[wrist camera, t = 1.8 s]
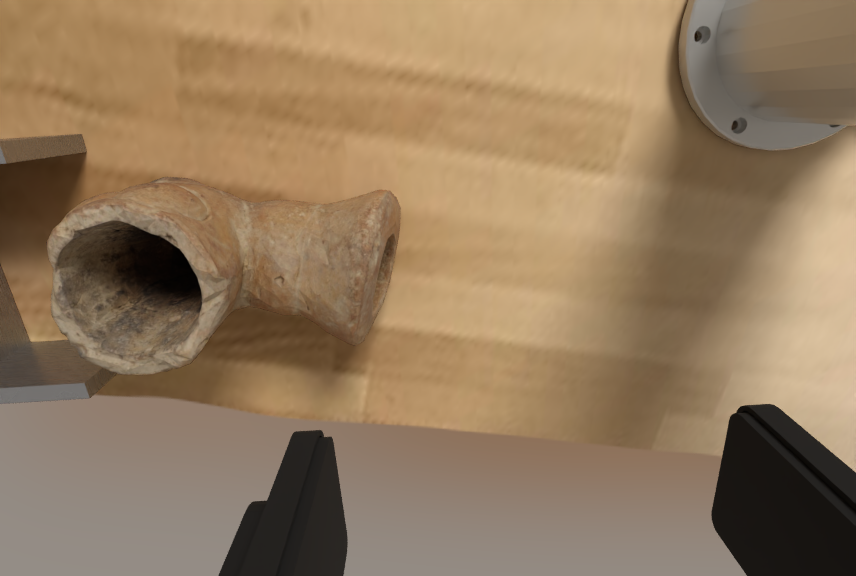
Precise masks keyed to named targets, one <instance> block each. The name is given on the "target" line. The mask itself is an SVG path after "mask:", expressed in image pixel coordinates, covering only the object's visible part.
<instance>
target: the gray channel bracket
mask: <svg viewBox="0 0 856 576" xmlns="http://www.w3.org/2000/svg"><path fill="white" fill-rule="evenodd" d="M83 152H87V151H86V148H85V144H84V141H83V137H82V134H76V135H60V136H44V137H29V138H13V139H0V164H7V163H13V162H20V161H27V160H34V159H41V158H48V157H55V156H62V155H69V154H76V153H83ZM116 374H117V373H115V372H112V371H109V370H107V369H105V368H103V367H100V366H98V365H96V364H93V363H90V362H88V361H86V360H85V359H83V358H81V357H80V356H79V353H78V351H77V349H76V348H75V347H74V346H72V345H71V344H70V342H69V340H62V341H46V342H30V340H29V338H28V335H27V332H26V330H25V327H24V325H23V322H22V319H21V317H20V314H19V312H18V309H17V307H16V304H15V301H14V299H13V296H12V294H11V291H10V288H9V286H8V283H7V281H6V278H5V276H4V273H3V270H2V268H1V265H0V404H5V403H21V402H38V401H54V400H71V399H86V398H91V397H92V396H93V395H94V394H95V393H96V392H97V391H98V390H100V389H101V388H102V387H103V386H104V385H105V384H106V383H107V382H108V381H110V380H111V379H112V378H113V377H114V376H115V375H116Z"/></svg>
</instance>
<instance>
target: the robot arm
mask: <svg viewBox="0 0 856 576" xmlns="http://www.w3.org/2000/svg"><path fill="white" fill-rule="evenodd" d="M695 33H696V34H697V36H698V38H697V40H696V41H695V39H694V35H695ZM679 70H680V74H681V79H682V84H683V89H684V91H685V93H686V96H687V98H688V100H689V103H690V105H691V107H692V109H693V110H694V111H695V113H696V114H697V116H698V117H699V118H700V120H701V121H702V122H703V124H705V125H706V126H707V127H708V128H709V129H710V130H712V131H713V132H714V133H715V134H716V135H718V136H720V137H722V138H723V139H725V140H727V141H729V142H731V143H733V144H736V145H740V146H744V147H748V148H752V149H762V150H771V151H772V150H788V149H795V148H799V147H802V146H806V145H810V144H814V143H816V142H818V141H820V140H823V139H825V138H827V137H830V136H832V135H834V134H836V133H837V132H839V131H840V130H842V129H843V128H845V127H847V126H848V125H852V126H856V0H688V4H687V7H686V10H685V13H684V16H683V19H682V25H681V32H680V38H679ZM732 123H733V127H731V126H732ZM712 521H713V525H714V528H715V530H716V532H717V533H718V535H719V536H720V537H721V539H722V540H723V542H724V543H725V545H726V546H727V548H728V549H729V550H730V552H731V553H732V555H733V556H734V558H735V559H736V560H737V562H738V563H739V565H740V566H741V568H742V569H743V570H744V572H745V573H746V575H747V576H856V473H855V472H854V471H853V470H852V469H851V468H850V467H848V466H847V465H846V464H845V463H844V462H842V461H841V460H840V459H839V458H838V457H836V456H835V455H834V454H833V453H832V452H830V451H829V450H828V449H827V448H826V447H825V446H823V445H822V444H821V443H820V442H819V441H817V440H816V439H815V438H814V437H813V436H811V435H810V434H809V433H808V432H807V431H805V430H804V429H803V428H802V427H801V426H800V425H798V424H797V423H796V422H795V421H794V420H792V419H791V418H790V417H789V416H788V415H786V414H785V413H784V412H783V411H782V410H781V409H779V408H778V407H776V406H775V405H772V404H762V405H745V406H741V407H740V408H739V409H738V410H737V413H735V414H732V415H731V417H730V420H729V425H728V430H727V435H726V440H725V446H724V451H723V456H722V461H721V467H720V471H719V477H718V482H717V487H716V492H715V497H714V503H713V508H712ZM346 554H347V530H346V524H345V518H344V510H343V504H342V497H341V491H340V484H339V477H338V470H337V463H336V457H335V450H334V443H333V439H332V437H324V435H323V432H322V431H321V430H316V431H299V432H294V433H293V435H292V437H291V439H290V442H289V445H288V447H287V450H286V452H285V455H284V458H283V460H282V463H281V466H280V469H279V471H278V474H277V476H276V479H275V481H274V484H273V487H272V489H271V492H270V495H269V497H268V500H267V501H255V502H252V503H251V504H250V505H249V506H248V508H247V510H246V512H245V514H244V516H243V519H242V521H241V524H240V526H239V529H238V531H237V533H236V535H235V538H234V540H233V543H232V545H231V547H230V550H229V552H228V554H227V557H226V559H225V561H224V564H223V566H222V569H221V571H220V573H219V576H343V574H344V568H345V561H346Z"/></svg>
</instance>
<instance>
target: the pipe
mask: <svg viewBox="0 0 856 576" xmlns="http://www.w3.org/2000/svg"><path fill="white" fill-rule="evenodd" d="M400 209H401V208H400V205H399V203H398V200H397V198H396V197H395V196H394V195H393V194H392V192H391V191H387V190H378V191H374V192H371V193H368V194H365V195H361V196H358V197H354V198H351V199H347V200H343V201H340V202H336V203H330V204H315V203H307V202H300V201H289V200H273V201H264V202H260V203H251V202H248V201H245V200H243V199H240V198H238V197H236V196H234V195H232V194H230V193H227V192H224V191H221V190H218V189H215V188H212V187H209V186H205V185H203V184H201V183H200V182H197V181H195V180H192V179H188V178H174V177H164V178H161V179H158V180H154V181H152V182H150V183H146V184H140V185H136V186H131V187H128V188H126V189H125V190H123V191H121V192H108V193H103V194H99V195H97V196H94V197H92V198H89V199H87V200H84V201H83V202H81V203H80V204H79V205H77V206H76V207H75V208H73V209H72V210H71V211H69V212H68V213H67V215H66V216H65V218H64V219H63V220H62V222H61V223H59V224H58V225H57V226H56V227H55V228H54V229H53V230H52V232H51V234H50V236H49V238H48V240H47V242H46V245H47V251H48V257H49V261H50V263H51V264H52V266H53V268H54V270H53V290H52V294H51V313H52V317H53V319H54V320H55V322H56V323H57V325H58V327H59V329H60V331H61V333H62V334H64V335H65V336H67V338H68V340H69V342H70V344H71V345H72V346H74V347H75V348H76V349H77V351H78V353H79V356H80V357H81V358H83V359H85V360H86V361H88V362H90V363H93V364H96V365H98V366H100V367H103V368H105V369H107V370H109V371H112V372H115V373H118V374H125V375H146V374H154V373H158V372H161V371H169V370H171V369H173V368H174V369H177V368H180V367H182V366H185V365H188V364H191V363H192V361H193V360H194V359H195V358H196V357H197V356H198V354H199V353H200V352H201V350H202V349H203V347H204V346H205V345H206V343H207V342H208V340H209V339H210V337H211V336H212V335H213V333H214V332H215V331H216V329H217V328H218V327H219V326H220V325H221V324H222V322H223V321H224V320H225V319H226V317H227V316H228V315H230V313H232V312H233V311H234V310H237V309H242V308H244V307H247V306H250V307H257V308H261V309H264V310H268V311H272V312H276V313H278V314H281V315H302V316H304V317H306V318H307V319H309V320H311V321H313V322H314V323H316V324H317V325H319V326H320V327H321V328H322V329H324V330H325V331H326V332H328V333H330V334H332V335H333V336H335V337H337V338H339V339H341V340H343V341H345V342H347V343H349V344H351V345H354V346H356V345H358V344H360V343H361V342H363V341H364V339H365V337H366V335H367V333H368V331H369V330H370V328H371V326H372V324H373V322H374V320H375V318H376V316H377V314H378V312H379V309H380V307H381V305H382V303H383V301H384V298H385V295H386V292H387V289H388V286H389V283H390V278H391V273H392V268H393V263H394V258H395V253H396V248H397V243H398V238H399V231H400Z"/></svg>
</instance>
